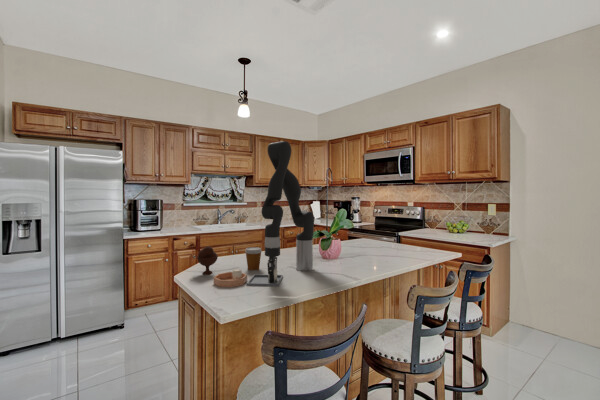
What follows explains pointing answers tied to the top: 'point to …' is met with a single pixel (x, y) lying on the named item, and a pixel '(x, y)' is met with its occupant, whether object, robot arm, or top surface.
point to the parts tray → (263, 280)
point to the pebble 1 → (236, 274)
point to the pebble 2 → (274, 275)
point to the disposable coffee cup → (253, 258)
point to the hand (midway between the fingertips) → (272, 280)
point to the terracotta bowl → (229, 280)
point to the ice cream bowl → (207, 258)
